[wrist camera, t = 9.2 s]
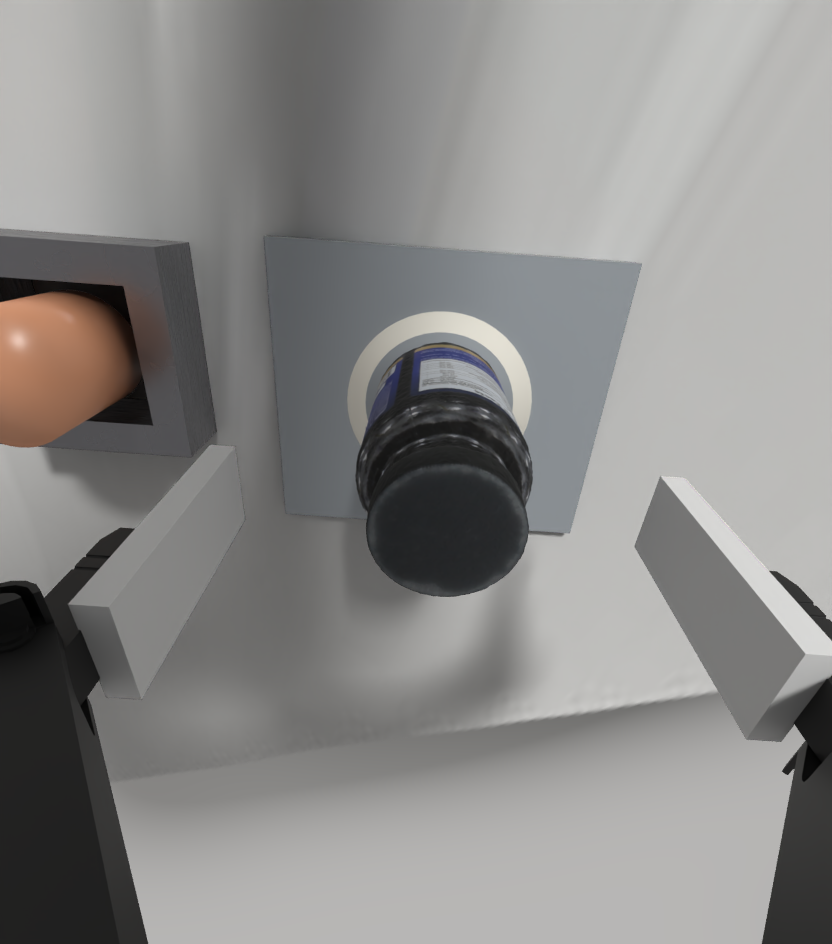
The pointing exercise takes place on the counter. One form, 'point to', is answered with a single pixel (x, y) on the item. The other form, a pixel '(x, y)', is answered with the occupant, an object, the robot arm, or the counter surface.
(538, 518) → the board
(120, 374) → the button
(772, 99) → the counter surface
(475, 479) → the pill bottle
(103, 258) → the button housing
